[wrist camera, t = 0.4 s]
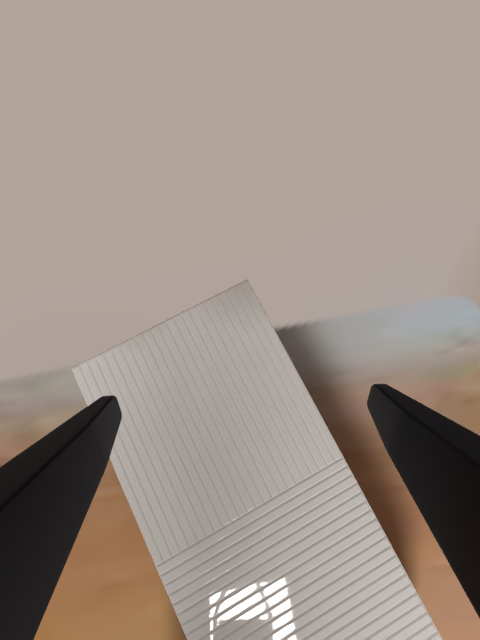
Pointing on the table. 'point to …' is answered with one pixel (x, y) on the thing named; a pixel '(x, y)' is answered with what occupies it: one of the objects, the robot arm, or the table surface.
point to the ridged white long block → (246, 485)
